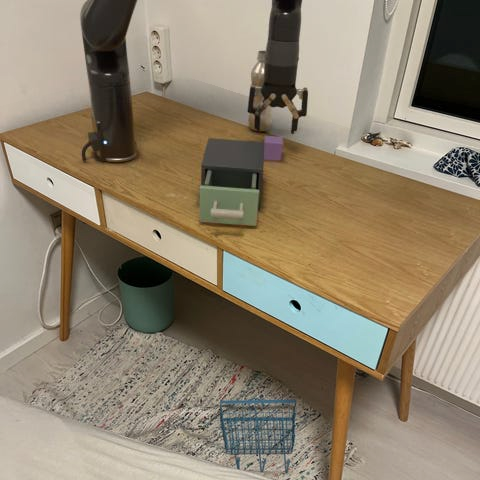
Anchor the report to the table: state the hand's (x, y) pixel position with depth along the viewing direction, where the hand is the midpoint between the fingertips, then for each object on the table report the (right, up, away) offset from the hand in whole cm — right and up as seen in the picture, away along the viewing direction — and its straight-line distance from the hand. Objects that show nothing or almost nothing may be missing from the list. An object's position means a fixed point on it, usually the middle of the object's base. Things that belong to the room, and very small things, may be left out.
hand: (275, 131), depth 125 cm
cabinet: (-10, -18, -12) cm, 24 cm away
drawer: (-11, -25, -21) cm, 35 cm away
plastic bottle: (-3, +7, +18) cm, 20 cm away
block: (-1, -5, +4) cm, 6 cm away
